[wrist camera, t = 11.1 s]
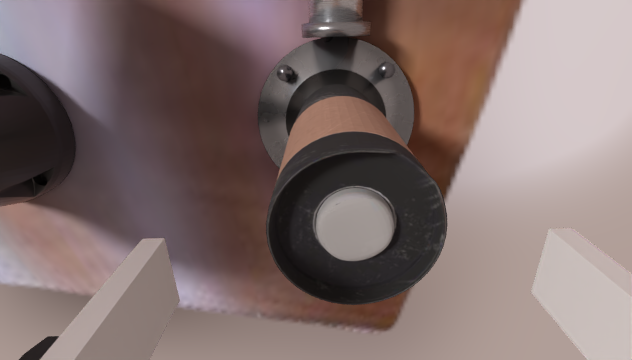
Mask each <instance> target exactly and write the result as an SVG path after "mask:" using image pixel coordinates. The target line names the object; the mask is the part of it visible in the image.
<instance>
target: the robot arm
mask: <svg viewBox="0 0 632 360" xmlns="http://www.w3.org/2000/svg"><path fill="white" fill-rule="evenodd" d="M74 156H75V140H74V134H73V130H72V126H71V123H70V121H69V118H68V116H67V114H66V112H65V110H64V108H63V107H62V105H61V103H60V102H59V100H58V99H57V97H56V96H55V95H54V93H53V92H52V91H51V90H50V89H49V88H48V86H47V85H46V84H45V83H44V82H43V81H42V80H41V79H39V78H38V77H37V76H36V75H35V74H34V73H32V72H31V71H30V70H28V69H27V68H26V67H24V66H23V65H21V64H19V63H18V62H16V61H14V60H12V59H10V58H8V57H6V56H4V55H1V54H0V206H6V205H11V204H17V203H22V202H25V201H29V200H31V199H34V198H36V197H38V196H40V195H42V194H44V193H46V192H47V191H49V190H51V189H53V188H54V187H56V186H57V185H59V184H60V183H61V182H62V181H63V180H64V179H65V178H66V176H67V175H68V173H69V171H70V169H71V167H72V164H73V161H74ZM531 293H532V294H533V295H534V297H535V298H536V299H537V300H538V301H539V303H540V304H541V305H542V306H543V307H544V309H545V310H546V311H547V312H548V313H549V315H550V316H551V317H552V318H553V319H554V321H555V322H556V323H557V324H558V325H559V326H560V328H561V329H562V330H563V331H564V333H565V334H566V335H567V336H568V337H569V339H570V340H571V341H572V342H573V343H574V345H575V346H576V347H577V348H578V349H579V350H580V352H581V353H582V354H583V355H584V357H585V358H586V359H587V360H632V273H631V272H630V271H628V270H627V269H625V268H624V267H623V266H622V265H620V264H619V263H618V262H616V261H615V260H614V259H612V258H611V257H610V256H608V255H607V254H606V253H604V252H603V251H602V250H600V249H599V248H598V247H596V246H595V245H594V244H592V243H591V242H590V241H588V240H587V239H586V238H585V237H583V236H582V235H581V234H579V233H578V232H577V231H575V230H574V229H573V228H550V229H549V231H548V234H547V238H546V241H545V245H544V248H543V252H542V255H541V259H540V262H539V265H538V269H537V272H536V276H535V279H534V283H533V286H532V290H531ZM179 301H180V299H179V295H178V291H177V287H176V283H175V279H174V275H173V270H172V266H171V262H170V258H169V254H168V250H167V246H166V242H165V238H148V239H142V240H141V241H140V242H139V243H138V244H137V246H136V247H135V248H134V249H133V250H132V251H131V253H130V254H129V255H128V256H127V257H126V259H125V260H124V261H123V262H122V263H121V264H120V266H119V267H118V268H117V269H116V270H115V272H114V273H113V274H112V275H111V276H110V277H109V279H108V280H107V281H106V282H105V283H104V284H103V286H102V287H101V288H100V289H99V290H98V292H97V293H96V294H95V295H94V296H93V297H92V299H91V300H90V301H89V302H88V303H87V305H86V306H85V307H84V308H83V309H82V310H81V312H80V313H79V314H78V315H77V316H76V318H75V319H74V320H73V321H72V323H70V325H69V326H68V327H67V328H66V329H65V331H64V332H63V333H62V334H61V335H60V336H54V337H52V336H51V337H47V338H45V339H44V340H42V341H41V342H40V343H38V344H37V345H36V346H34V347H33V348H32V349H30V350H29V351H28V352H26V353H25V354H24V355H23V356H22V357H21V358H20V359H19V360H150V357H151V356H152V354H153V352H154V350H155V348H156V346H157V344H158V342H159V340H160V338H161V336H162V334H163V332H164V330H165V328H166V326H167V324H168V322H169V320H170V318H171V316H172V315H173V312H174V311H175V309H176V307H177V305H178V303H179Z"/></svg>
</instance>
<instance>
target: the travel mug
mask: <svg viewBox="0 0 632 360" xmlns="http://www.w3.org/2000/svg"><path fill="white" fill-rule="evenodd" d="M446 231H447V213H446V207H445V203H444V199H443V195H442V193H441V190H440V188H439V186H438V185H437V183H436V182H435V181H434V180H433V179H432V178H431V176H430V175H429V174H428V173H427V172H426V170H425V169H424V168H423V166H422V165H421V164H420V163H419V161H418V160H417V158H416V157H415V156H414V154H413V153H412V152H411V150H410V149H409V148H408V147H407V145H406V144H405V143H404V141H403V140H402V139H401V137H400V136H399V135H398V133H397V132H396V131H395V129H394V128H393V127H392V125H391V124H390V123H389V121H388V120H387V119H386V117H385V116H384V115H383V114H382V112H381V111H380V110H379V109H378V108H376V107H375V106H374V105H373V104H372V103H371V102H370V101H369V100H368V99H367V98H366V97H365V96H364V95H363V94H362V93H360V92H359V91H358V90H356V89H354V88H352V87H349V86H346V85H341V84H333V85H327V86H324V87H322V88H320V89H318V90H316V91H315V92H313V93H312V94H311V95H310V96H309V97H308V98H307V99H306V101H305V102H304V104H303V106H302V108H301V110H300V112H299V114H298V116H297V118H296V121H295V123H294V125H293V127H292V129H291V132H290V135H289V139H288V142H287V146H286V149H285V153H284V156H283V160H282V163H281V167H280V170H279V174H278V177H277V181H276V184H275V188H274V191H273V195H272V198H271V202H270V205H269V209H268V215H267V221H266V234H267V241H268V246H269V249H270V252H271V255H272V257H273V259H274V261H275V263H276V265H277V266H278V268H279V269H280V271H281V272H282V273H283V274H284V276H285V277H286V278H287V279H288V280H289V281H290V282H291V283H293V284H294V285H295V286H296V287H298V288H299V289H301V290H302V291H304V292H306V293H308V294H309V295H311V296H314V297H316V298H319V299H321V300H325V301H328V302H332V303H338V304H349V305H358V304H369V303H375V302H379V301H383V300H386V299H389V298H391V297H394V296H396V295H398V294H400V293H402V292H404V291H406V290H408V289H409V288H411V287H412V286H414V285H415V284H416V283H417V282H419V281H420V280H421V279H422V278H423V277H424V276H425V275H426V274H427V273H428V272H429V270H430V269H431V268H432V267H433V265H434V264H435V262H436V261H437V259H438V257H439V255H440V253H441V251H442V248H443V245H444V241H445V238H446Z"/></svg>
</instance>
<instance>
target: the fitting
mask: <svg viewBox="0 0 632 360" xmlns="http://www.w3.org/2000/svg"><path fill="white" fill-rule="evenodd" d="M362 21H363V0H309V23H307V24H302V38H310V37H326V38H321V39H317V40H313V41H310V42H308V43H305V44H303V45H301V46H300V47H298V48H296V49H294V50H293V51H291V52H290V53H289V54H288V55H286V56H285V57H284V58H283V59H282V60H281V61H280V62H279V63H278V64H277V65H276V67H275V68H274V69H273V71H272V72H271V73H270V75H269V77H268V79H267V80H266V82H265V85H264V87H263V90H262V92H261V96H260V101H259V108H258V125H259V131H260V135H261V138H262V142H263V144H264V146H265V149H266V151H267V153H268V154H269V156H270V157H271V159H272V160H273V162H274V163H275V164H276V165H277V167H278V168H279V169H280V167H281V163H282V160H283V156H284V153H285V149H286V146H287V142H288V139H289V135H290V132H291V129H292V127H293V125H294V123H295V121H296V118H297V116H298V114H299V112H300V110H301V108H302V106H303V104H304V102H305V101H306V99H307V98H308V97H309V96H310V95H311V94H312V93H313V92H315V91H316V90H318V89H320V88H322V87H324V86H327V85H333V84H341V85H346V86H349V87H352V88H354V89H356V90H358V91H359V92H360V93H362V94H363V95H364V96H365V97H366V98H367V99H368V100H369V101H370V102H371V103H372V104H373V105H374V106H375V107H376V108H378V109H379V110H380V111H381V112H382V114H383V115H384V116H385V117H386V119H387V120H388V121H389V123H390V124H391V125H392V127H393V128H394V129H395V131H396V132H397V133H398V135H399V136H400V137H401V139H402V140H403V141H404V143H405V144H406V145H407V144H408V141H409V139H410V136H411V132H412V128H413V122H414V103H413V97H412V93H411V89H410V86H409V84H408V81H407V79H406V77H405V76H404V74H403V72H402V70H401V69H400V68H399V66H398V65H397V64H396V63H395V61H394V60H393V59H391V58H390V57H389V56H388V55H387V54H386V53H385V52H383V51H382V50H380V49H379V48H377V47H375V46H374V45H372V44H370V43H368V42H365V41H362V40H359V39H354V38H349V37H343V36H370V33H371V22H362Z"/></svg>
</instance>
